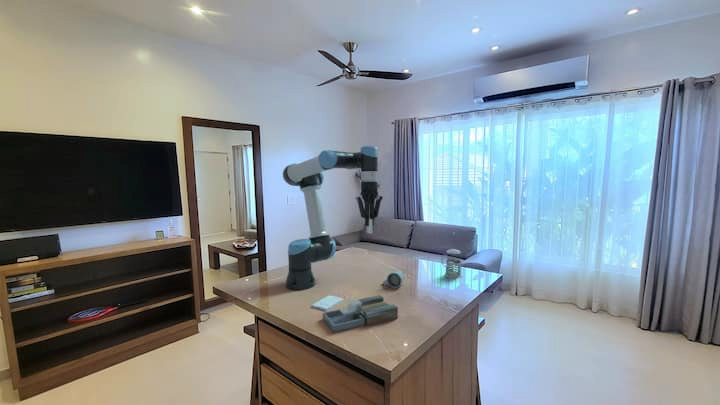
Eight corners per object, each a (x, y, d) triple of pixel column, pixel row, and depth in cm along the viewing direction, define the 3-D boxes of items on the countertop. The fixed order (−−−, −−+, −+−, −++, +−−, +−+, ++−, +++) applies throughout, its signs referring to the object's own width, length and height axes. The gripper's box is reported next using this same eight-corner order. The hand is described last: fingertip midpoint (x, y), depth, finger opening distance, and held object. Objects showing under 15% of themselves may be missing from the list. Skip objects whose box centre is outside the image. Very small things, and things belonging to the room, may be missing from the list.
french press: (464, 278, 163) (465, 233, 161) (443, 278, 163) (444, 233, 161) (459, 272, 173) (459, 230, 171) (439, 272, 173) (439, 230, 171)
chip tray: (322, 319, 115) (322, 312, 115) (351, 312, 121) (351, 306, 121) (333, 332, 105) (333, 326, 105) (364, 325, 110) (364, 318, 110)
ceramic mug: (404, 283, 155) (404, 269, 155) (401, 288, 148) (401, 273, 147) (385, 281, 159) (384, 267, 158) (381, 286, 151) (380, 272, 151)
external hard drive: (343, 302, 133) (326, 312, 123) (328, 298, 138) (311, 308, 127) (343, 298, 133) (326, 308, 123) (328, 295, 137) (311, 304, 127)
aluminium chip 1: (348, 316, 116) (339, 319, 114) (348, 307, 116) (339, 309, 114) (353, 321, 112) (343, 323, 110) (352, 311, 112) (343, 313, 110)
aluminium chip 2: (348, 311, 116) (348, 301, 115) (357, 308, 117) (357, 299, 117) (352, 315, 112) (352, 305, 112) (362, 312, 114) (361, 302, 114)
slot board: (351, 311, 122) (351, 300, 122) (379, 305, 128) (379, 295, 128) (367, 325, 110) (367, 314, 109) (397, 318, 116) (397, 307, 115)
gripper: (360, 181, 126) (360, 235, 128) (386, 181, 132) (386, 233, 134) (352, 181, 133) (353, 232, 135) (377, 181, 139) (377, 230, 140)
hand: (369, 232), depth 134 cm, fingers closed
